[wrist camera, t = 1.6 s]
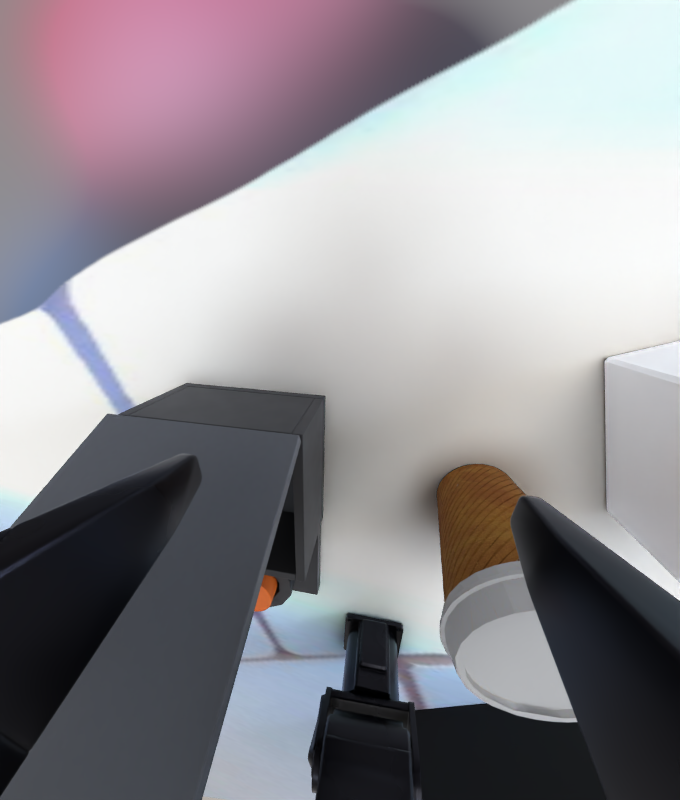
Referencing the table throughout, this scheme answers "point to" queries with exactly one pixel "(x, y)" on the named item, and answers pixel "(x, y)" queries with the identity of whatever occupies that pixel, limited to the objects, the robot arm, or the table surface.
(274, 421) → the dark grey boxy piece
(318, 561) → the button base
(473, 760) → the coffee maker
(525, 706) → the disposable coffee cup
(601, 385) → the table surface
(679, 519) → the gable box
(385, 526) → the table surface
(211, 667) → the lid
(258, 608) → the button
